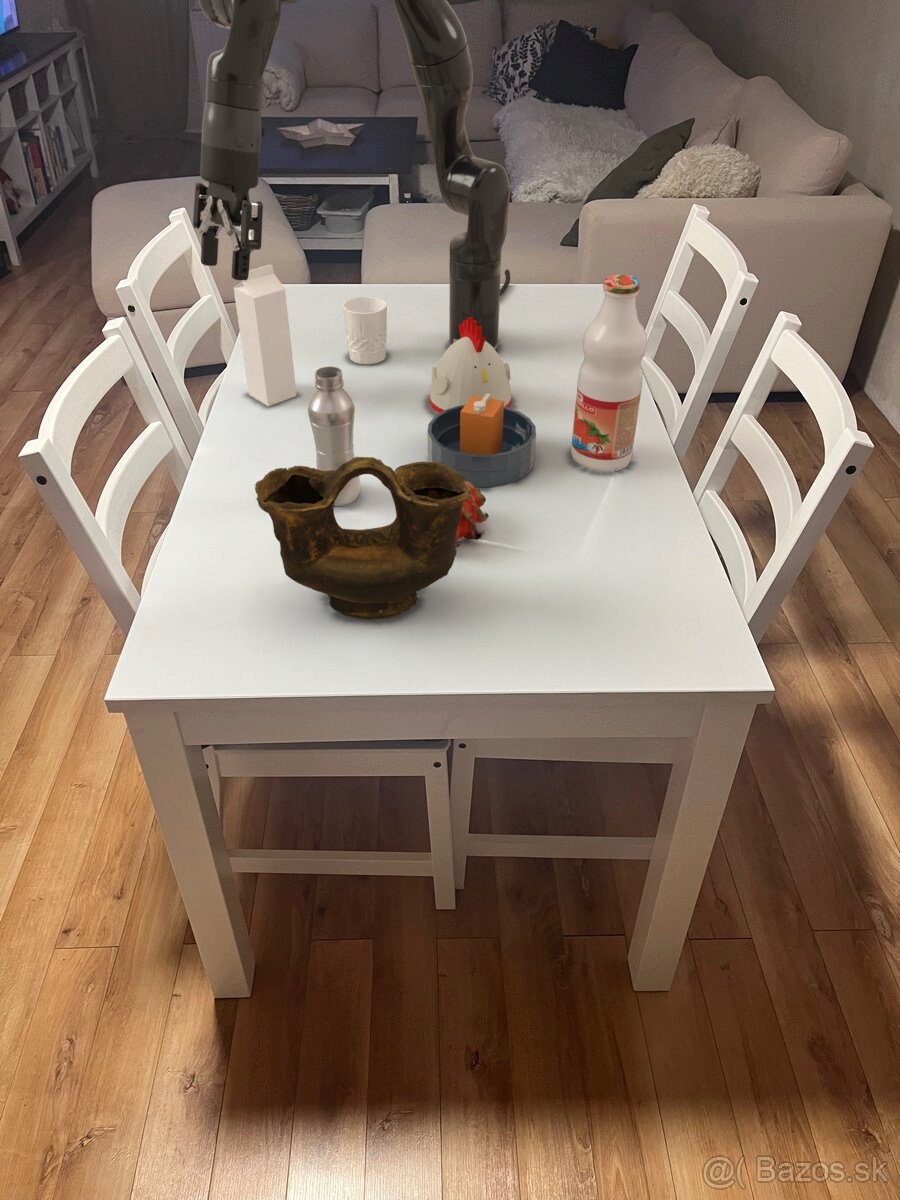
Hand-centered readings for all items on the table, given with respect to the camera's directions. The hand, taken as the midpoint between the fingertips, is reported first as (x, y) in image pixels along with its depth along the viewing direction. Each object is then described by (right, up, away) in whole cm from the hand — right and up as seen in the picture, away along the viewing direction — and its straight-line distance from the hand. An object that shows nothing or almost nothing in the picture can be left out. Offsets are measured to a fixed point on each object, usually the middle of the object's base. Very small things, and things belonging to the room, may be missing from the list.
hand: (223, 272), depth 130 cm
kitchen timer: (+35, -12, +30) cm, 48 cm away
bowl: (+36, -24, +14) cm, 46 cm away
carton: (+36, -24, +14) cm, 45 cm away
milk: (+1, -10, +32) cm, 34 cm away
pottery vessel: (+21, -45, -11) cm, 51 cm away
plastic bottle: (+15, -31, +6) cm, 35 cm away
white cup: (+16, -1, +44) cm, 47 cm away
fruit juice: (+55, -24, +16) cm, 62 cm away
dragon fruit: (+32, -37, -1) cm, 49 cm away
